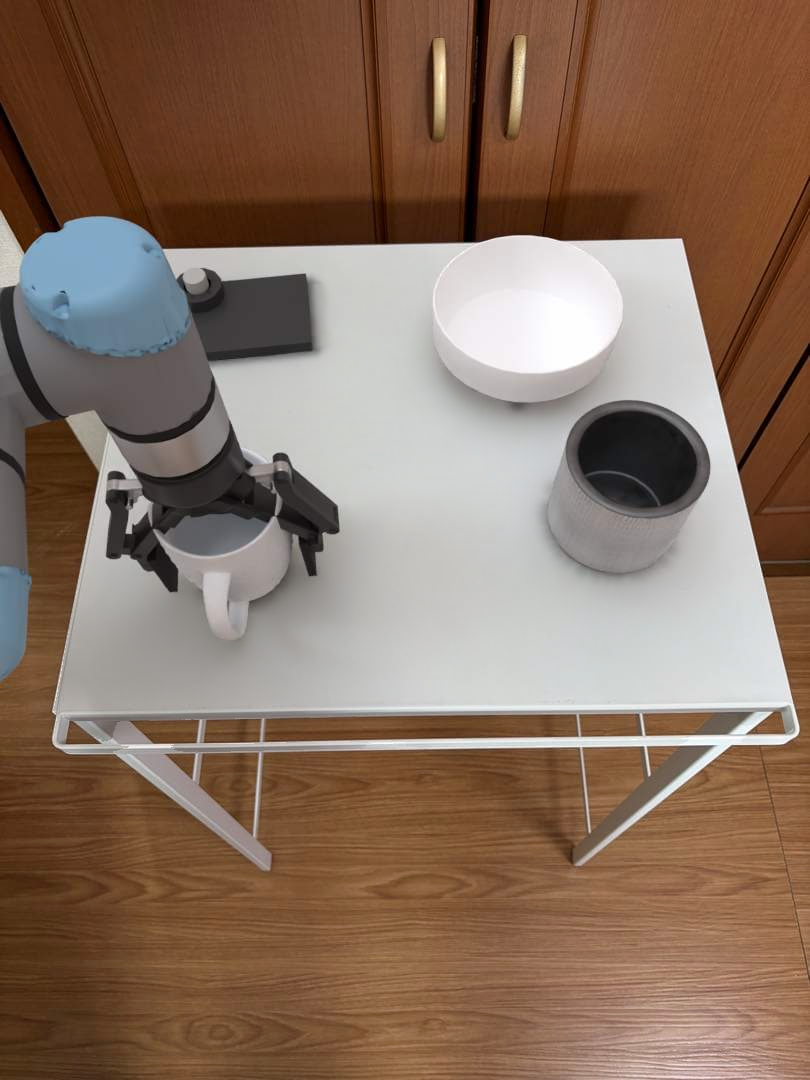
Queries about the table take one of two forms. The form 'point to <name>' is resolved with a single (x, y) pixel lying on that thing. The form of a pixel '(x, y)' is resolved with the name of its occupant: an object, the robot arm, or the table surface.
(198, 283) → the button
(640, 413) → the planter
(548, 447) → the table surface
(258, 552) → the mug
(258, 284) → the scale
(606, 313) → the bowl
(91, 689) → the table surface
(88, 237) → the robot arm
